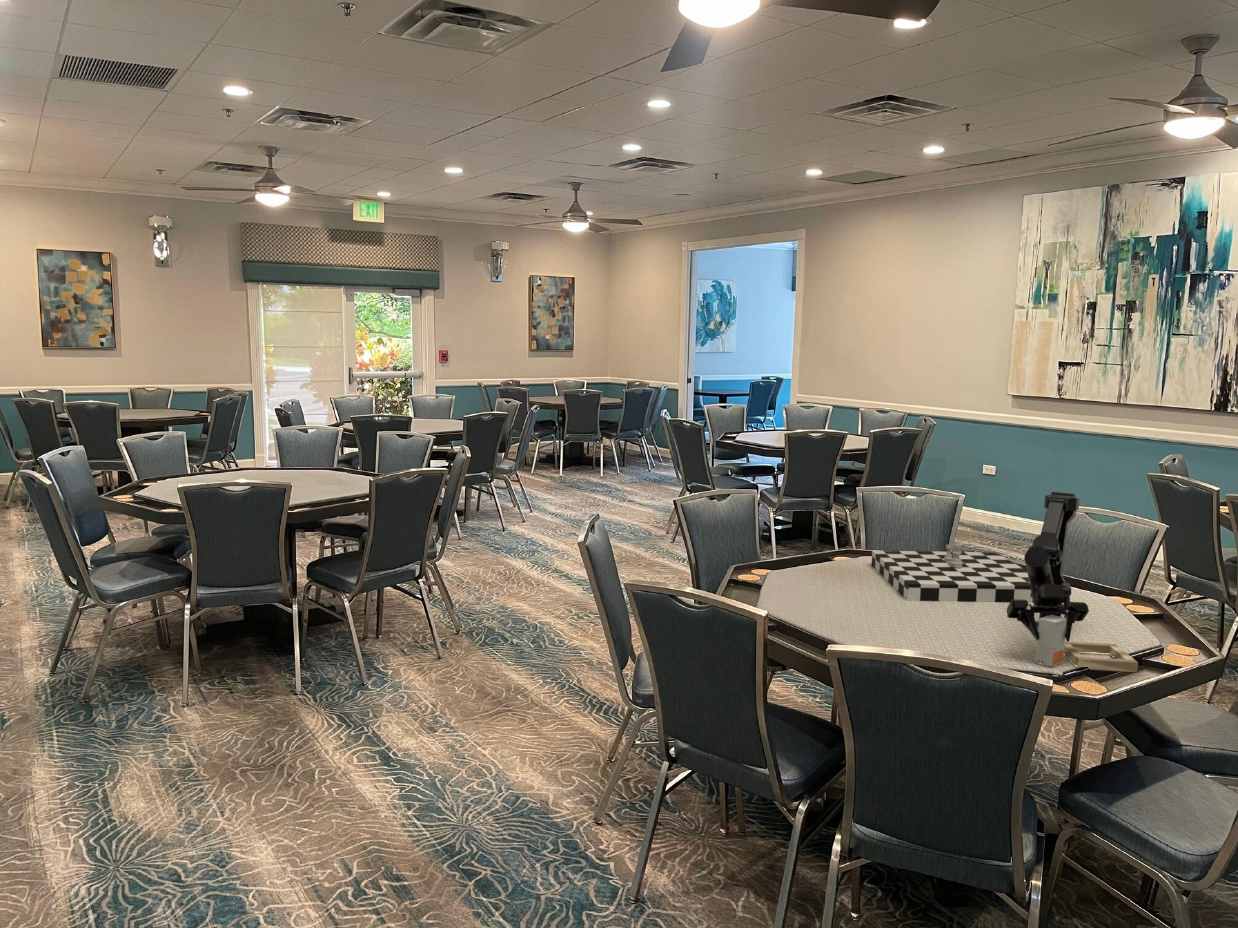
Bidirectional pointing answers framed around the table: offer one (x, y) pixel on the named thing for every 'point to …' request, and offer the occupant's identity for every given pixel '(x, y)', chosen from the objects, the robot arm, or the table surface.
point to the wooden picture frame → (1118, 664)
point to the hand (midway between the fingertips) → (1053, 640)
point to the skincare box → (1051, 640)
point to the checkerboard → (953, 575)
